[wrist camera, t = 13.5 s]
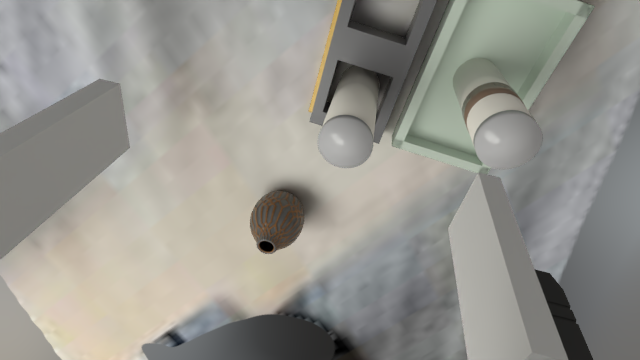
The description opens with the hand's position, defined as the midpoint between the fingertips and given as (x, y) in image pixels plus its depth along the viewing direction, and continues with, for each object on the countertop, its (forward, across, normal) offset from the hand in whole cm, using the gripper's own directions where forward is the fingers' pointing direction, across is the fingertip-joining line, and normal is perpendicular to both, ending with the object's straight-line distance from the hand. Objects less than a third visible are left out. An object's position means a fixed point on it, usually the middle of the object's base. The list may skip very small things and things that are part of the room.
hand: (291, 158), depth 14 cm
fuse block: (+28, +2, -3) cm, 29 cm away
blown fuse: (+28, +13, -4) cm, 31 cm away
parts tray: (+28, +13, -4) cm, 31 cm away
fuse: (+28, +2, -8) cm, 29 cm away
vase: (+28, -4, -27) cm, 39 cm away
